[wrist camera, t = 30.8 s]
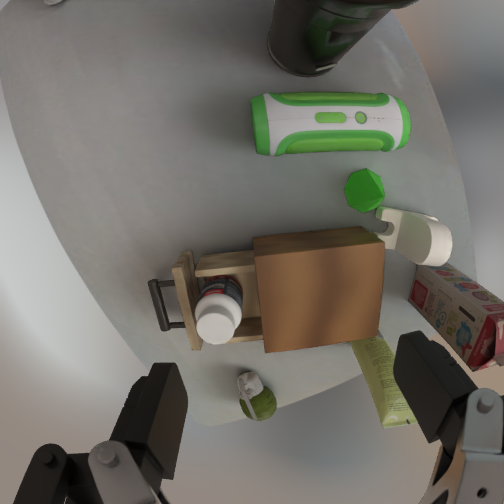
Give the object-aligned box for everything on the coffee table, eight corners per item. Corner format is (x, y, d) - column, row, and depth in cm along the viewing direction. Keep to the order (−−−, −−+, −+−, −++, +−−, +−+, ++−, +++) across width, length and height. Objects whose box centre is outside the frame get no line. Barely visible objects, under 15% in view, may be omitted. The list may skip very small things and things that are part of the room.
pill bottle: (226, 265, 36) (219, 297, 27) (251, 295, 37) (251, 334, 29) (194, 287, 37) (180, 323, 28) (219, 315, 38) (212, 356, 30)
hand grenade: (243, 430, 40) (219, 384, 40) (253, 408, 46) (233, 364, 46) (276, 427, 39) (254, 380, 38) (284, 404, 44) (265, 359, 44)
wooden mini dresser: (262, 321, 41) (265, 353, 33) (252, 237, 37) (253, 256, 30) (359, 308, 40) (377, 335, 33) (361, 225, 36) (385, 241, 29)
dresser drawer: (171, 328, 40) (161, 351, 34) (152, 255, 36) (137, 271, 31) (292, 317, 40) (298, 341, 34) (287, 239, 36) (294, 254, 30)
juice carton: (437, 300, 40) (516, 377, 19) (408, 300, 40) (487, 389, 19) (448, 263, 38) (540, 330, 17) (418, 262, 38) (514, 338, 17)
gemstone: (386, 170, 34) (408, 173, 28) (382, 214, 36) (403, 224, 30) (345, 166, 34) (362, 167, 28) (342, 212, 36) (358, 221, 30)
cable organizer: (377, 205, 36) (415, 221, 26) (432, 215, 36) (474, 233, 26) (370, 242, 37) (404, 269, 28) (424, 249, 38) (463, 274, 28)
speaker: (381, 99, 31) (409, 89, 24) (387, 151, 33) (416, 152, 26) (249, 101, 31) (249, 86, 24) (256, 158, 34) (258, 157, 27)
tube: (350, 352, 43) (392, 444, 24) (339, 332, 42) (383, 429, 23) (380, 334, 42) (433, 420, 23) (370, 313, 41) (429, 401, 22)
